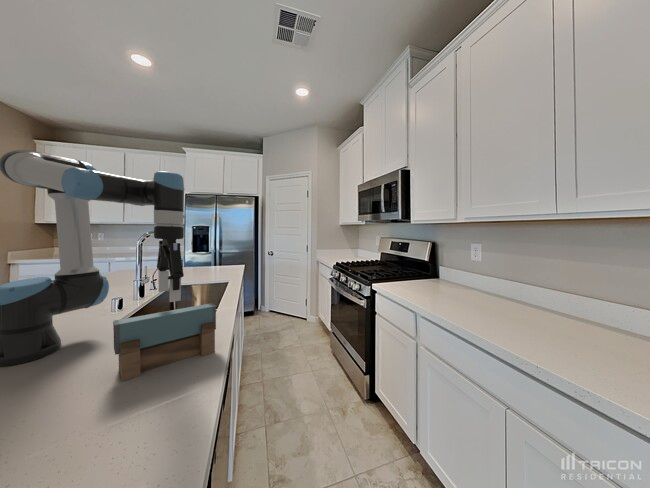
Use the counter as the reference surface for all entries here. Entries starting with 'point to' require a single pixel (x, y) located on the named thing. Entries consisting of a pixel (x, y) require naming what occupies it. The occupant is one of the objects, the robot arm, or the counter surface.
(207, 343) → the wooden slotted stand
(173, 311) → the rail
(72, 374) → the counter surface
